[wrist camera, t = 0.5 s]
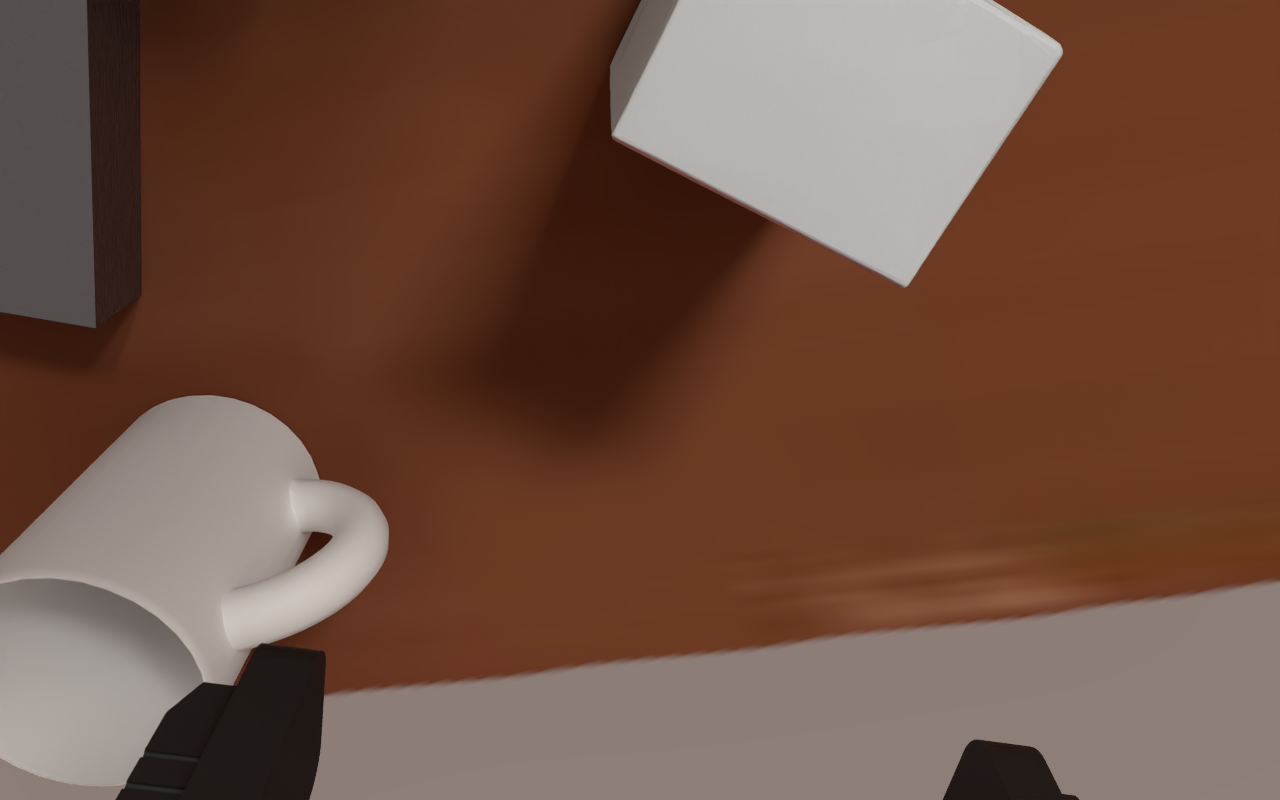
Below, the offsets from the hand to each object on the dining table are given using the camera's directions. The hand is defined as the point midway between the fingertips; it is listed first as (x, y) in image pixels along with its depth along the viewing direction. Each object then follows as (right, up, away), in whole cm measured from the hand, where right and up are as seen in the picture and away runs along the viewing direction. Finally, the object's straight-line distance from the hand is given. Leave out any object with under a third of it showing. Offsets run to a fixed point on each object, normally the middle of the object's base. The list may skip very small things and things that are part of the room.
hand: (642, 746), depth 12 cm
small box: (+4, +16, +21) cm, 27 cm away
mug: (-15, +1, +28) cm, 31 cm away
